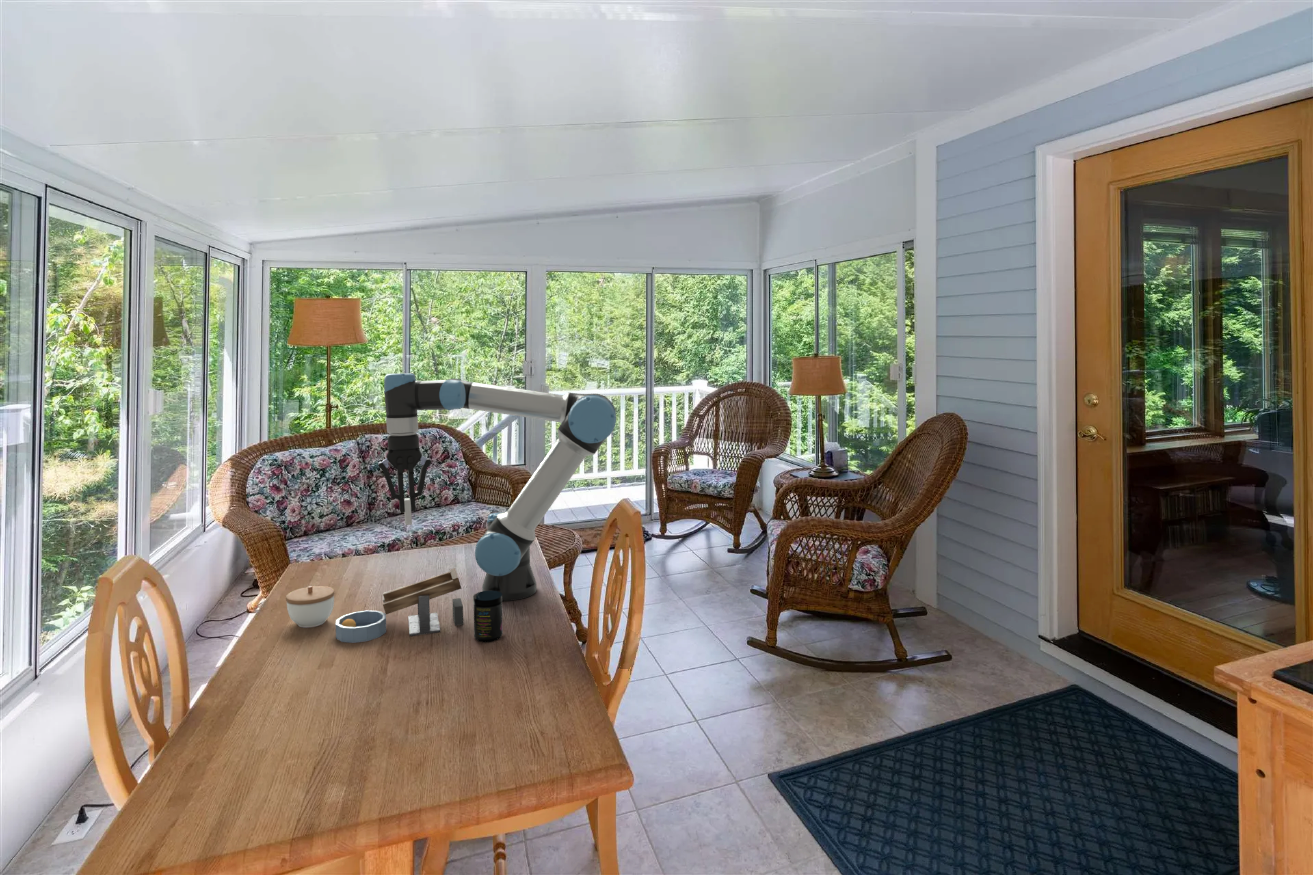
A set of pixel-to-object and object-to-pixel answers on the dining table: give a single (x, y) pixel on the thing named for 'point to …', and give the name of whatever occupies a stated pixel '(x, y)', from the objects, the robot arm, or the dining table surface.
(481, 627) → the supplement container
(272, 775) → the dining table surface
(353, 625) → the ball
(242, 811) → the dining table surface
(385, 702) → the dining table surface
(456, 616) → the block
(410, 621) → the pivot stand
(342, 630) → the bowl
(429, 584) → the lever
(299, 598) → the lidded jar
